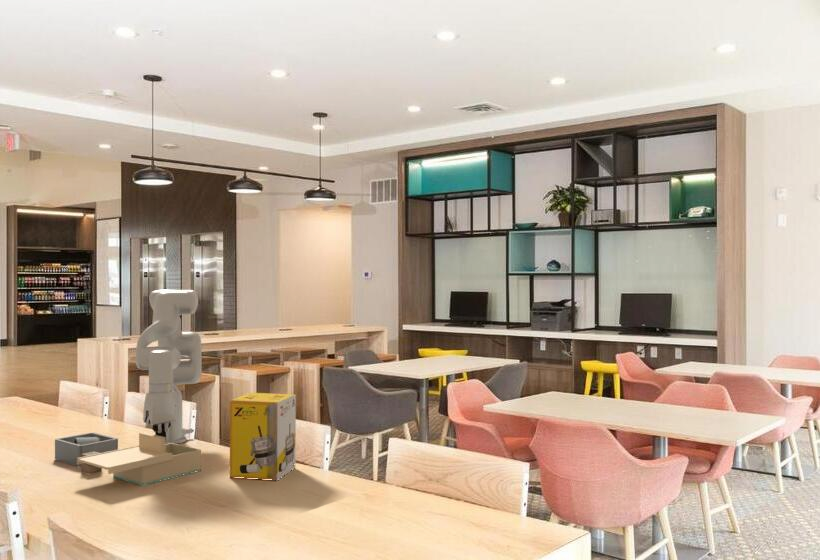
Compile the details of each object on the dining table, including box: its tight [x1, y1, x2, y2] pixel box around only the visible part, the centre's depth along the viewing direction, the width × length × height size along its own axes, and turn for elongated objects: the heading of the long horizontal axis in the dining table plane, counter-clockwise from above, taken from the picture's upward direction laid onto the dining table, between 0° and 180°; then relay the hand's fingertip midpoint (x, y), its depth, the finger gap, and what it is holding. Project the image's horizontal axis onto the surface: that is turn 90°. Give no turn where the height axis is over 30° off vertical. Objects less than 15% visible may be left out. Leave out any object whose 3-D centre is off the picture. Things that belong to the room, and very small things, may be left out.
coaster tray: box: [54, 432, 119, 467], centre depth 267 cm, size 14×16×7 cm
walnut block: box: [80, 451, 103, 475], centre depth 250 cm, size 4×4×6 cm
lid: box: [77, 431, 173, 475], centre depth 239 cm, size 22×18×7 cm
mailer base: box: [112, 443, 202, 486], centre depth 249 cm, size 22×16×7 cm
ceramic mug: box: [74, 437, 100, 445], centre depth 269 cm, size 11×8×8 cm
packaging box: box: [229, 392, 297, 480], centre depth 250 cm, size 16×16×25 cm
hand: (160, 443), depth 249 cm, fingers closed
